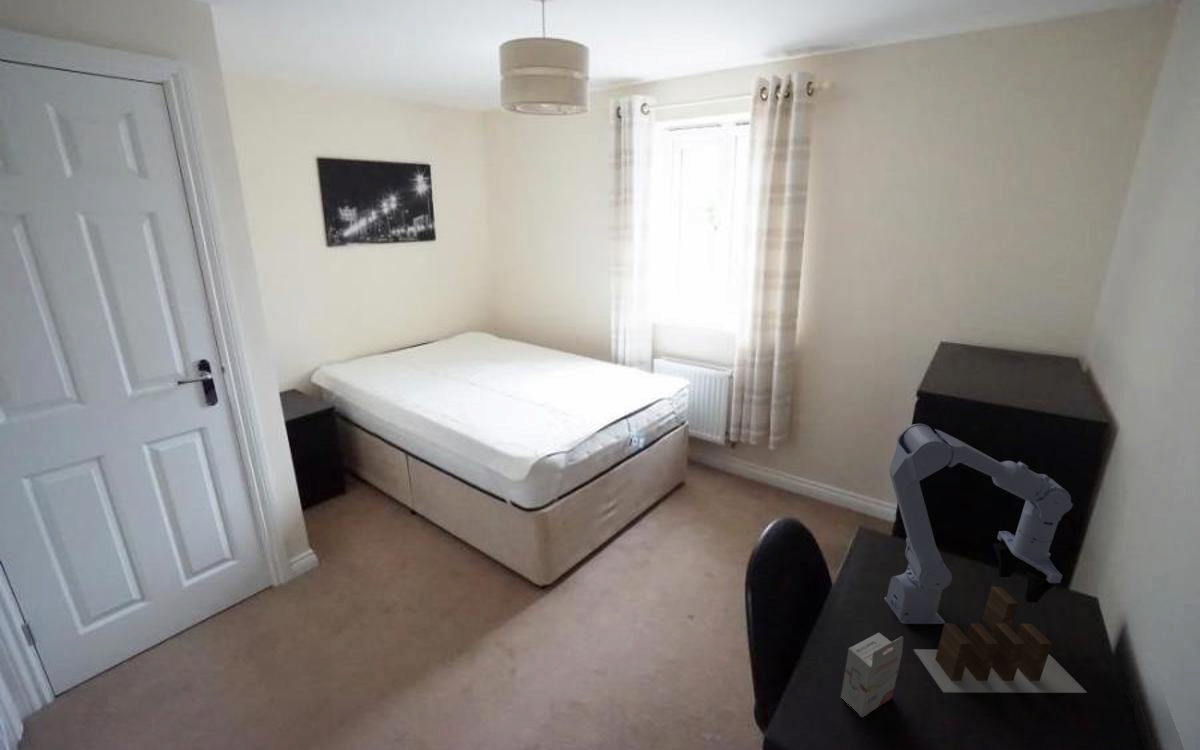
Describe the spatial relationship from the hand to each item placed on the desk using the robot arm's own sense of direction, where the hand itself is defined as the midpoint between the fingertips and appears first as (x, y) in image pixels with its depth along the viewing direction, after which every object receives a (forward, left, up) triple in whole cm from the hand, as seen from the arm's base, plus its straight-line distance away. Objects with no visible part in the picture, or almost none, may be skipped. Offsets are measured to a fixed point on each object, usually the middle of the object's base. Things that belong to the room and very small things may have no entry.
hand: (1017, 588), depth 113 cm
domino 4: (-6, -13, -9) cm, 16 cm away
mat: (-11, -13, -9) cm, 19 cm away
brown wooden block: (-4, -2, -10) cm, 10 cm away
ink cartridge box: (-40, -19, -10) cm, 45 cm away
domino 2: (-16, -13, -9) cm, 22 cm away
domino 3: (-11, -13, -9) cm, 19 cm away
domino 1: (-21, -13, -9) cm, 26 cm away
